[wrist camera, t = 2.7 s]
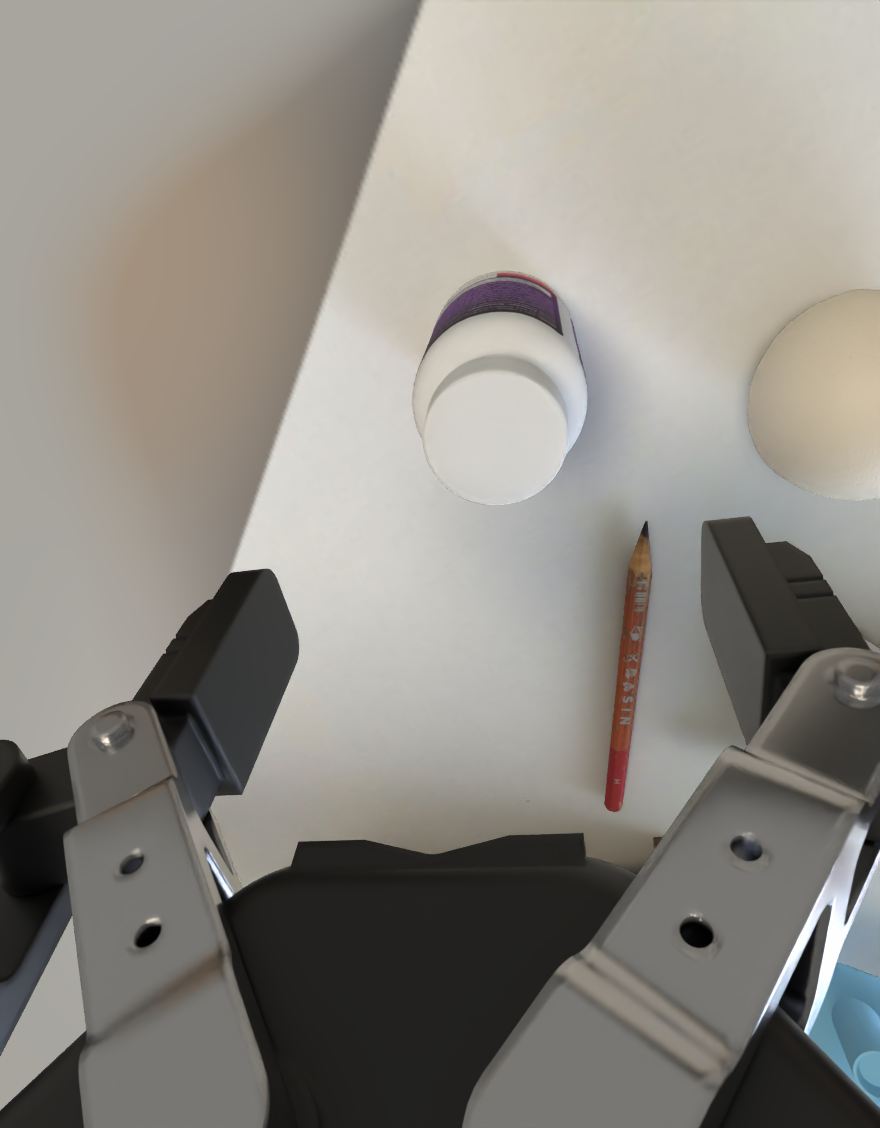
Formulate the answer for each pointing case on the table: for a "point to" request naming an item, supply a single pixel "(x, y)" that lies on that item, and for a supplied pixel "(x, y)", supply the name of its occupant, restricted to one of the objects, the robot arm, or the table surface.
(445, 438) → the pill bottle
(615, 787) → the pencil
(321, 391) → the table surface
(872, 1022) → the teapot
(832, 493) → the cream round ball
